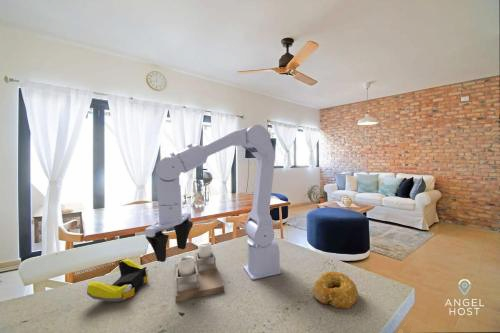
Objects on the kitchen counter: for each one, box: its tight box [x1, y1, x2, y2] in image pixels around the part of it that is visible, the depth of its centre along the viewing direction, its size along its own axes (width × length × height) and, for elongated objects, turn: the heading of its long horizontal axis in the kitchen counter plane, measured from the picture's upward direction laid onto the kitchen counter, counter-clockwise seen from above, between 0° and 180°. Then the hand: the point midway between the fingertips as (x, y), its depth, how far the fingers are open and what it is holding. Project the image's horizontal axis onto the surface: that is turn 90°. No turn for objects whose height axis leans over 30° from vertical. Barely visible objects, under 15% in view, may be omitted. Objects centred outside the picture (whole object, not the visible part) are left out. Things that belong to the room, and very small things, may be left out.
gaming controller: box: [86, 258, 150, 303], centre depth 59 cm, size 15×6×10 cm
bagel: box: [311, 270, 359, 309], centre depth 55 cm, size 10×11×5 cm
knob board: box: [174, 250, 225, 303], centre depth 63 cm, size 12×17×5 cm
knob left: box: [178, 255, 195, 277], centre depth 58 cm, size 4×4×4 cm
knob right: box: [197, 241, 212, 259], centre depth 68 cm, size 4×4×4 cm
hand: (172, 254), depth 58 cm, fingers open, 7 cm apart
